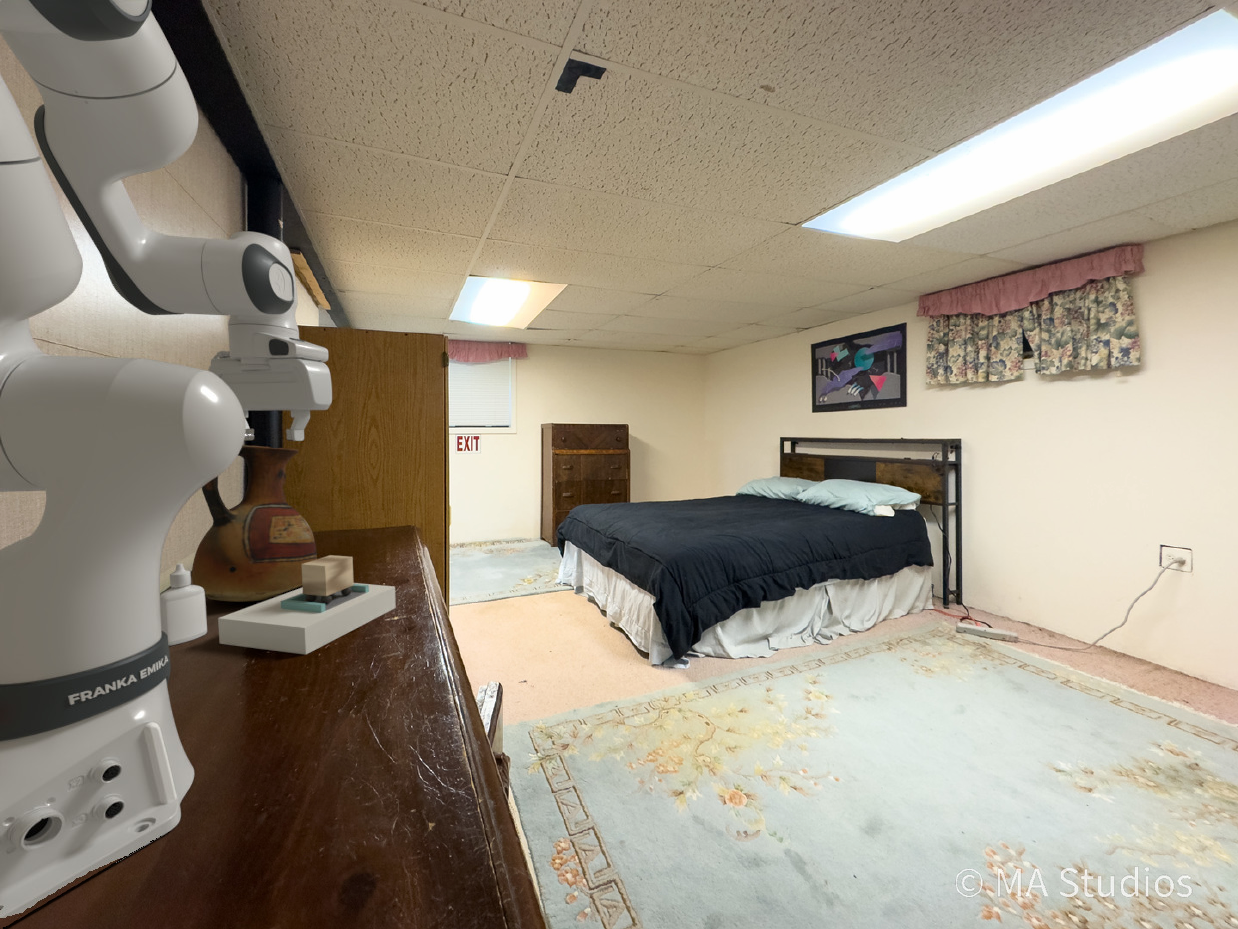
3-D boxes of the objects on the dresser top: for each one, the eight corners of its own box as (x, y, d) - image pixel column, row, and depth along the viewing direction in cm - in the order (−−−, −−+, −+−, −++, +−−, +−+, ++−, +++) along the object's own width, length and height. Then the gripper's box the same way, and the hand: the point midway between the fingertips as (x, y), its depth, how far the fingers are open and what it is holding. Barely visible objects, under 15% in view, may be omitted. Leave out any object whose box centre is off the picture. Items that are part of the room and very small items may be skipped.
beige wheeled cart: (326, 605, 84) (325, 566, 83) (303, 603, 85) (301, 564, 84) (353, 594, 89) (352, 556, 89) (331, 592, 90) (330, 555, 90)
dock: (305, 654, 75) (304, 619, 75) (219, 643, 79) (217, 610, 79) (395, 607, 95) (394, 580, 94) (322, 600, 98) (321, 574, 98)
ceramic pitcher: (339, 587, 107) (333, 442, 105) (232, 620, 89) (223, 446, 86) (279, 575, 115) (273, 441, 113) (171, 603, 97) (160, 444, 95)
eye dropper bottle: (206, 639, 81) (201, 564, 80) (158, 648, 77) (153, 570, 76) (207, 630, 84) (203, 558, 83) (162, 638, 81) (157, 563, 80)
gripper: (190, 348, 77) (196, 440, 78) (303, 343, 73) (307, 441, 74) (231, 354, 83) (235, 439, 84) (337, 349, 79) (341, 440, 80)
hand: (270, 440), depth 79 cm, fingers open, 8 cm apart
